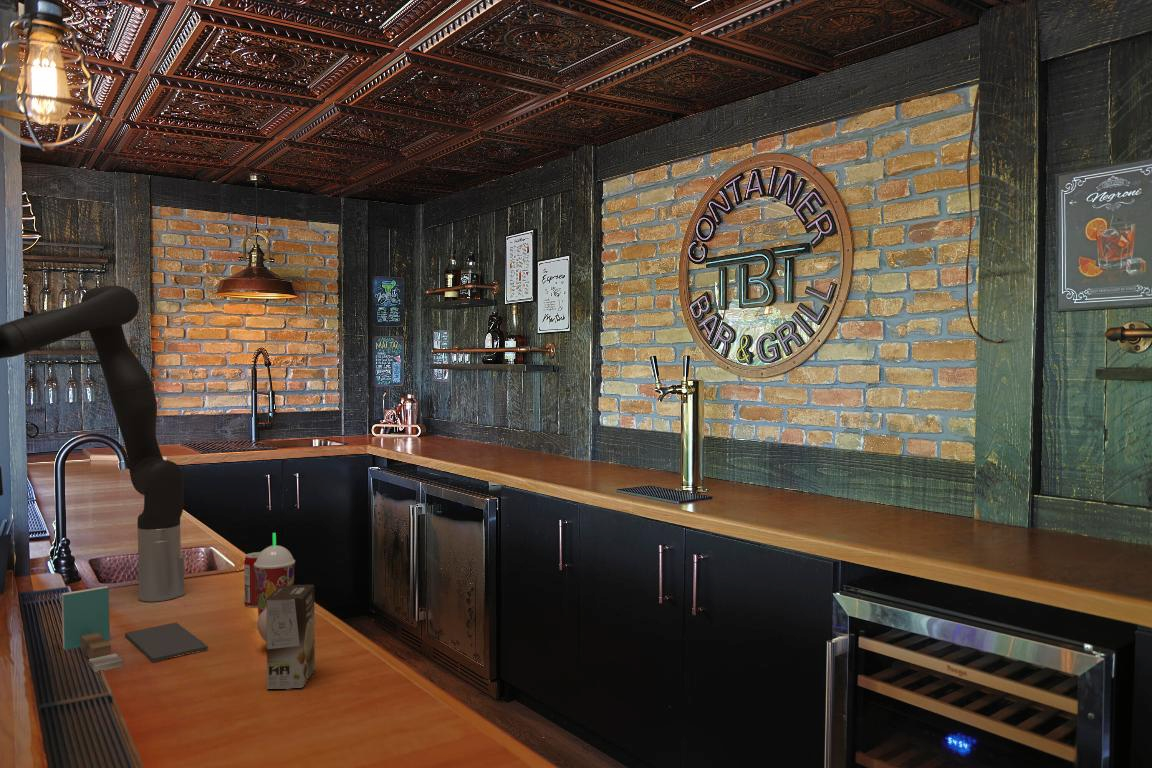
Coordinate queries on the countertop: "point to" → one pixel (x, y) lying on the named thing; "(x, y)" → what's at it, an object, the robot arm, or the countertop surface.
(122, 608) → the countertop surface
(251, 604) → the soda can
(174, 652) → the mat
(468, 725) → the countertop surface
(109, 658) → the tan two-tone long part
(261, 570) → the smoothie
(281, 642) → the coffee box
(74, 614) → the tile
